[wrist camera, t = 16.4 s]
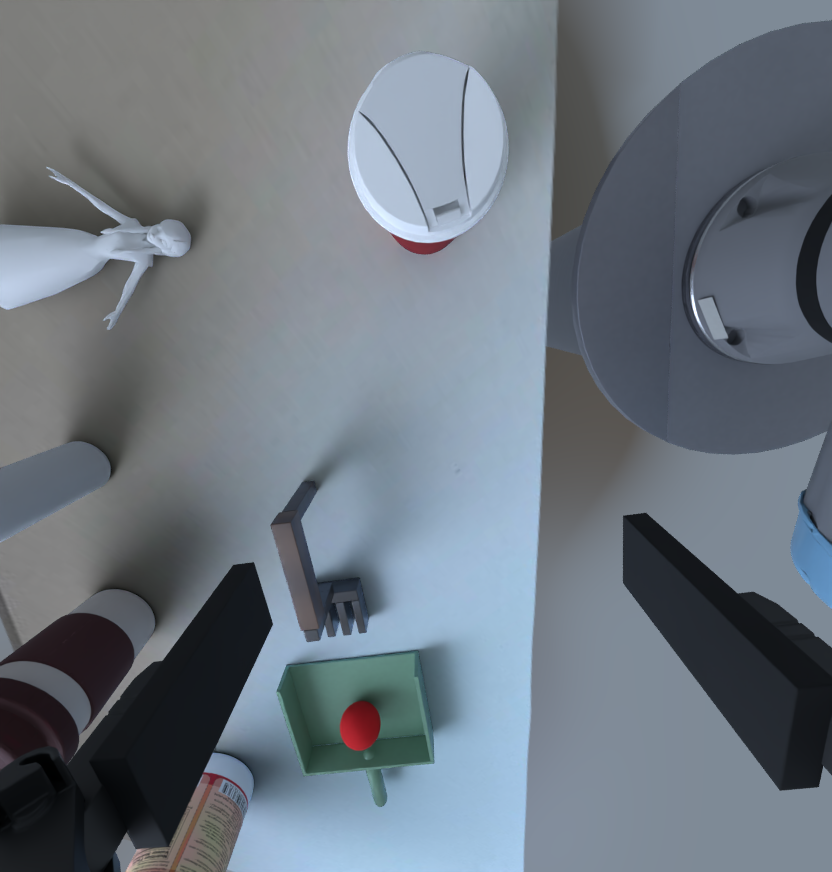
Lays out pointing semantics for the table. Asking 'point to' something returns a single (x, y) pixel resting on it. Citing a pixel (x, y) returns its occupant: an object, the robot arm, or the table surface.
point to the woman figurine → (80, 254)
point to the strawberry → (360, 725)
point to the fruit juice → (205, 822)
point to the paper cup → (427, 149)
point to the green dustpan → (344, 685)
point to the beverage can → (48, 484)
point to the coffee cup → (69, 673)
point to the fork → (305, 592)
